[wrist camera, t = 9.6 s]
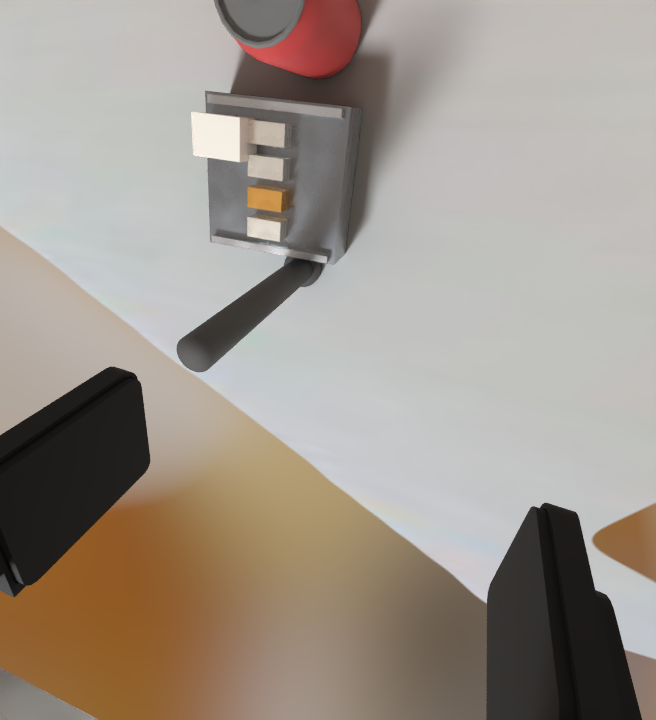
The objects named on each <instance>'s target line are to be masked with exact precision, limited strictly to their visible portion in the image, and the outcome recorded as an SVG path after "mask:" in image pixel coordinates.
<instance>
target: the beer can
mask: <svg viewBox="0 0 656 720" xmlns="http://www.w3.org/2000/svg"><path fill="white" fill-rule="evenodd" d="M214 2H215V6H216V9H217V11H218V14H219V16H220V19H221V21H222V23H223V25H224V26H225V27H226V29H227V30H228V31H229V33H230V34H231V35H232V36H233V37H234V38H235V40H236V41H237V42H238V44H239V45H240V46H241V48H242V49H243V50H244V51H246V52H247V53H248V54H250V55H251V56H253V57H254V58H255V59H257V60H258V61H261V62H264V63H267V64H270V65H273V66H276V67H279V68H282V69H285V70H288V71H291V72H294V73H297V74H300V75H303V76H306V77H310V78H314V79H323V78H329V77H331V76H333V75H335V74H337V73H338V72H340V71H341V70H342V69H343V68H344V67H345V66H346V65H347V64H348V63H349V62H350V61H351V59H352V57H353V55H354V53H355V51H356V49H357V47H358V42H359V37H360V33H361V14H360V9H359V6H358V3H357V0H214Z"/></svg>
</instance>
